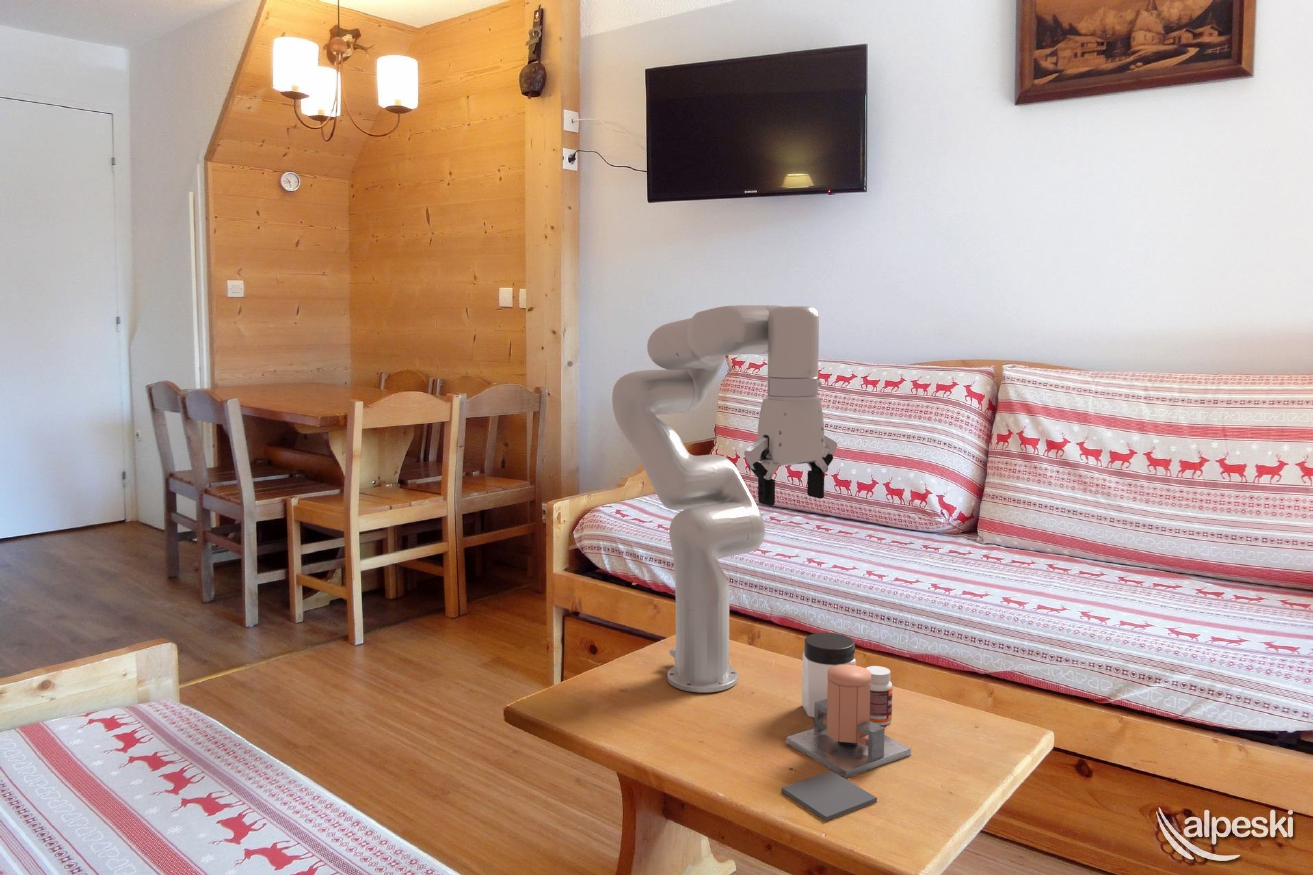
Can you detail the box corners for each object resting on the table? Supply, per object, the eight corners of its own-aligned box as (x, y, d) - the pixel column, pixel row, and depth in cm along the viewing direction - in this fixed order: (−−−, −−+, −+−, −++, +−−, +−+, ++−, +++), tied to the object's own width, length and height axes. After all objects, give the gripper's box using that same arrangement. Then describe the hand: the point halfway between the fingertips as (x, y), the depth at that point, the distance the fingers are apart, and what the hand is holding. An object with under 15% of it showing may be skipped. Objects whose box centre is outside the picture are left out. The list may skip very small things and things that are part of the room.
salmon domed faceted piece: (811, 726, 143) (812, 667, 142) (842, 717, 147) (843, 658, 145) (853, 750, 135) (855, 687, 134) (885, 739, 139) (887, 677, 138)
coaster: (781, 791, 129) (781, 787, 129) (830, 774, 134) (830, 770, 134) (826, 821, 121) (826, 816, 121) (876, 801, 126) (876, 797, 126)
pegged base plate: (786, 743, 143) (787, 674, 142) (849, 722, 150) (850, 657, 149) (845, 778, 132) (847, 703, 131) (910, 754, 139) (912, 683, 138)
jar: (825, 725, 149) (827, 653, 148) (791, 708, 156) (792, 638, 154) (865, 712, 154) (867, 642, 153) (830, 695, 161) (832, 628, 159)
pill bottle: (894, 726, 149) (896, 675, 148) (864, 726, 149) (865, 675, 148) (888, 713, 154) (889, 664, 153) (858, 713, 154) (859, 664, 153)
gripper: (819, 384, 149) (817, 490, 151) (731, 390, 140) (731, 503, 142) (852, 387, 143) (850, 498, 145) (762, 393, 133) (762, 511, 136)
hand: (791, 500), depth 143 cm, fingers open, 9 cm apart
